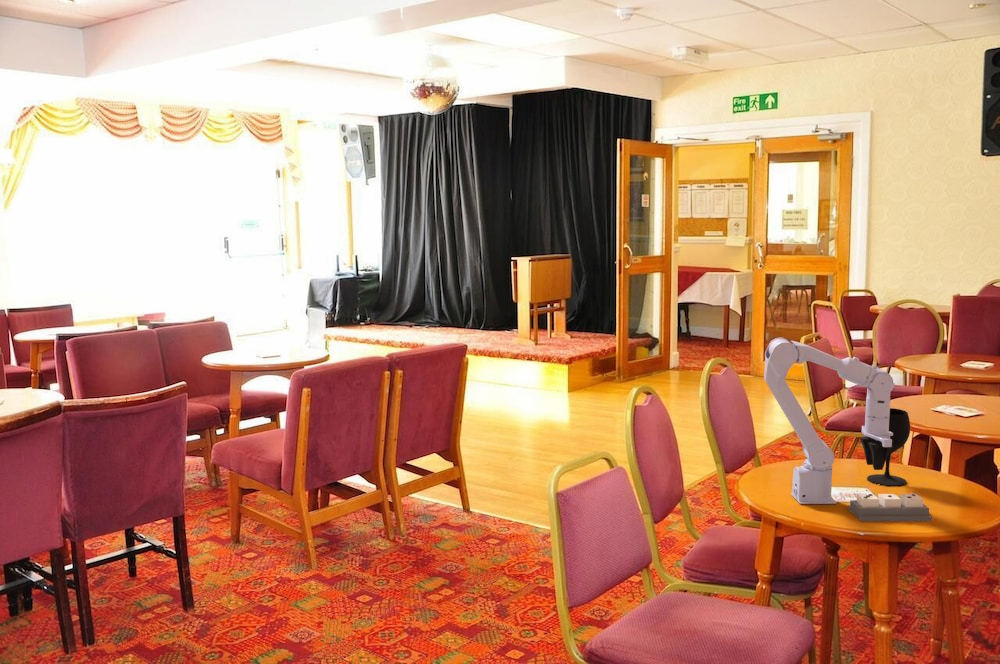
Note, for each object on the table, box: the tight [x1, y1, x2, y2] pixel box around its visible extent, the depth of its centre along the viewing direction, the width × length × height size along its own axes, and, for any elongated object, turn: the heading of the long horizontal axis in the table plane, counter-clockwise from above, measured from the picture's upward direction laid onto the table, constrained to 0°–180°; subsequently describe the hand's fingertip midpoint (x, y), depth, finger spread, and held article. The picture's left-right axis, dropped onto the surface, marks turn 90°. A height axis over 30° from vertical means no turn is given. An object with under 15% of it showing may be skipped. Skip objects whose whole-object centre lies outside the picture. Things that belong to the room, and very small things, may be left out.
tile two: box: [899, 493, 924, 507], centre depth 224 cm, size 4×4×3 cm
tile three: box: [856, 493, 879, 507], centre depth 224 cm, size 4×4×3 cm
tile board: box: [847, 499, 933, 522], centre depth 225 cm, size 17×9×3 cm, turn 89°
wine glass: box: [866, 407, 911, 487], centre depth 251 cm, size 10×10×20 cm
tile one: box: [877, 493, 901, 507], centre depth 224 cm, size 4×4×3 cm
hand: (874, 467), depth 233 cm, fingers open, 4 cm apart
